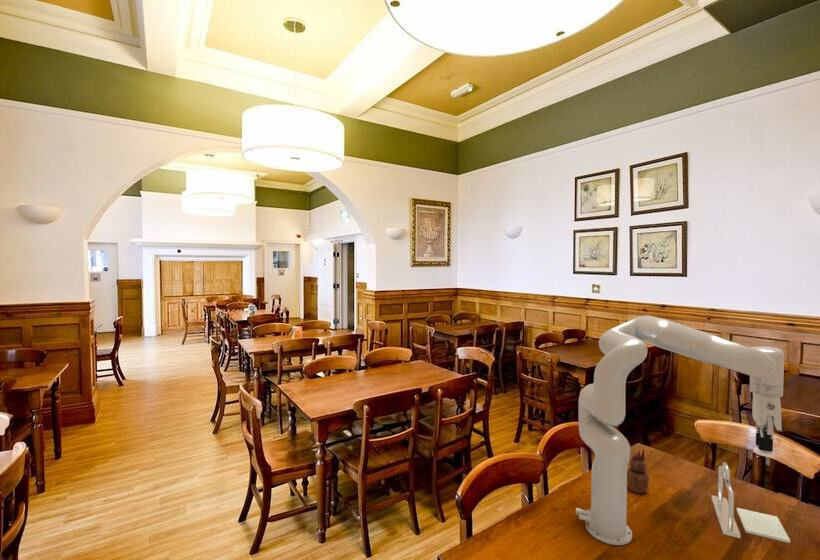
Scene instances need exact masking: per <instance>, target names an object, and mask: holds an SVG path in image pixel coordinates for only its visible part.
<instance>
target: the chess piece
mask: <svg viewBox="0 0 820 560" xmlns="http://www.w3.org/2000/svg"><path fill="white" fill-rule="evenodd" d="M764 427H767V426H764ZM764 431H766V430H764ZM752 451H753V452H754V453H755V454H756V455H759V456H762V457H765V458H774V457H775V456H776V455H775V452H774V450H773V451H772V452H770V451H764V450H759V448H758V446H756V447H754V448H753V450H752Z"/></svg>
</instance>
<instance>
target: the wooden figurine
mask: <svg viewBox="0 0 820 560" xmlns="http://www.w3.org/2000/svg"><path fill="white" fill-rule="evenodd" d="M631 457H632V458H631V459H629V466H630V467H629V468H627V487H629V489H630V490H631V491H632V492H633V493H637V494H645V493H646V492H647V491H648V489H649V483H650V476H649V474H648V472H647V471H646V469H647V464H646V462H645V449H643V450H642V453H641V452H640V450H638V451H637V453H636V452H635V455H634V454H632V456H631Z"/></svg>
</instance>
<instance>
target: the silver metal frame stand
mask: <svg viewBox="0 0 820 560" xmlns="http://www.w3.org/2000/svg"><path fill="white" fill-rule="evenodd" d="M717 474H718V475H717V476H718V478H717V479H718V481H717V495H712V494H711V501H712V504H713V507H714V511H715V514H716V516H717V519H718V522H719V526H720V528H721V531H722V534H723V535H725V536H729V537H733V538H737V539H741V532H740V529H739V527H738V524H737V522H736V520H735V517H734V509H735V508H734V505H735V504H734V503H735V500H734V499H735V492H734V490H733V488H732V485H731V483H730V482H731V480H730V479H731V470H730V467H729V465H728V463H727V462H725V461H723V462H722V465H719V466H718V473H717ZM723 483H724V484H725V486H726V489H727V491H728V499H727V498H726V497H724V496H723V490H724V486H723V485H724V484H723Z"/></svg>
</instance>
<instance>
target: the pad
mask: <svg viewBox="0 0 820 560" xmlns="http://www.w3.org/2000/svg"><path fill="white" fill-rule="evenodd" d="M736 512H737V515H738V517H739V520H740V522H741V525H742V527H743V530H744V532H745V533H747V534H751V535H754V536H759V537H764V538H768V539H772V540H774V541H775V540H776V541H780V542H784V543H787V544H791V539H790V537H789V535H788V533H787V532H786V529H785V528H784V526H783V524H782V523H781V521H780V519H779V518H778V516H776V515H771V514H768V513H767V514H766V513H762V512H758V511H753V510H749V509H745V508H739V507H736Z"/></svg>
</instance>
